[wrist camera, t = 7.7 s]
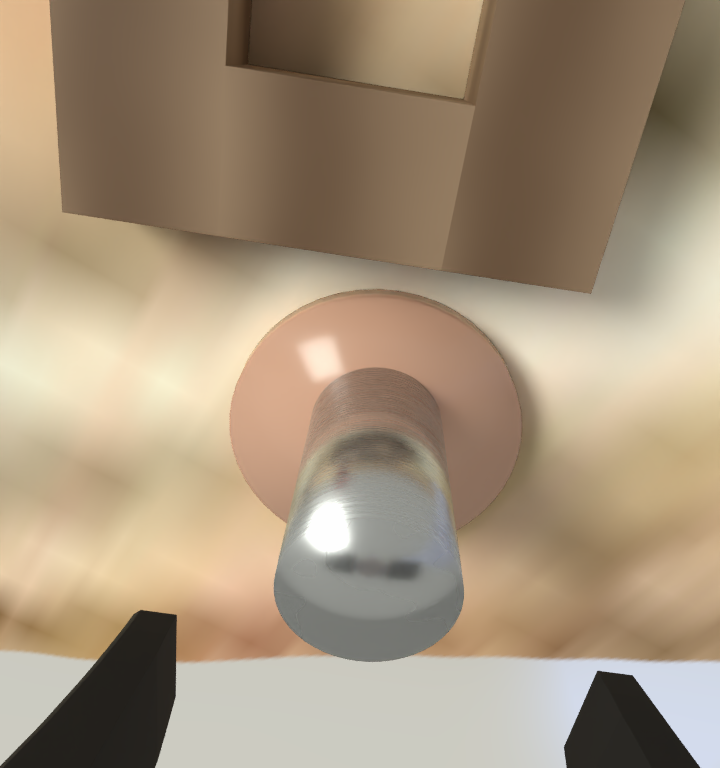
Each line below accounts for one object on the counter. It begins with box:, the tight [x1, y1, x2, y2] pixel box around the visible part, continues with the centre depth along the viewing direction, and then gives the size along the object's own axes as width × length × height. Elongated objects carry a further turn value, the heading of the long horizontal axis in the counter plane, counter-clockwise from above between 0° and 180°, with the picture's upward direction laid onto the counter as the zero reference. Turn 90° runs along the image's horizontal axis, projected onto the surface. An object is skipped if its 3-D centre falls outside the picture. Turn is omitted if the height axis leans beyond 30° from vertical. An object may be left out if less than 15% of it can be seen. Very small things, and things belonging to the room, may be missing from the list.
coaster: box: [230, 289, 522, 530], centre depth 20 cm, size 9×9×1 cm
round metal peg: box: [274, 367, 464, 662], centre depth 17 cm, size 4×4×7 cm
